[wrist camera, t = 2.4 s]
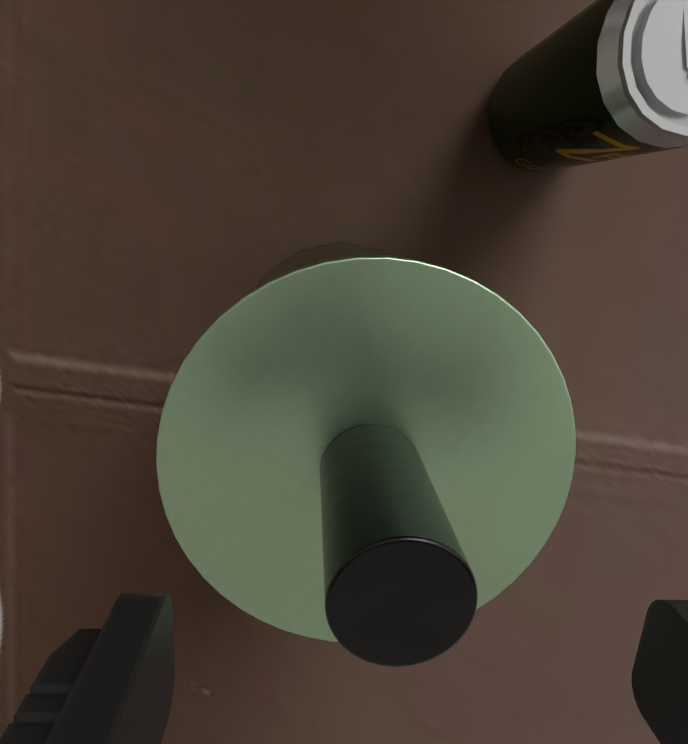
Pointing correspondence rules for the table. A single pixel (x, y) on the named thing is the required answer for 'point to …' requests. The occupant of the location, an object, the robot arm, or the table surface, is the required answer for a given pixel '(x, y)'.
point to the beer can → (597, 88)
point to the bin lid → (367, 453)
